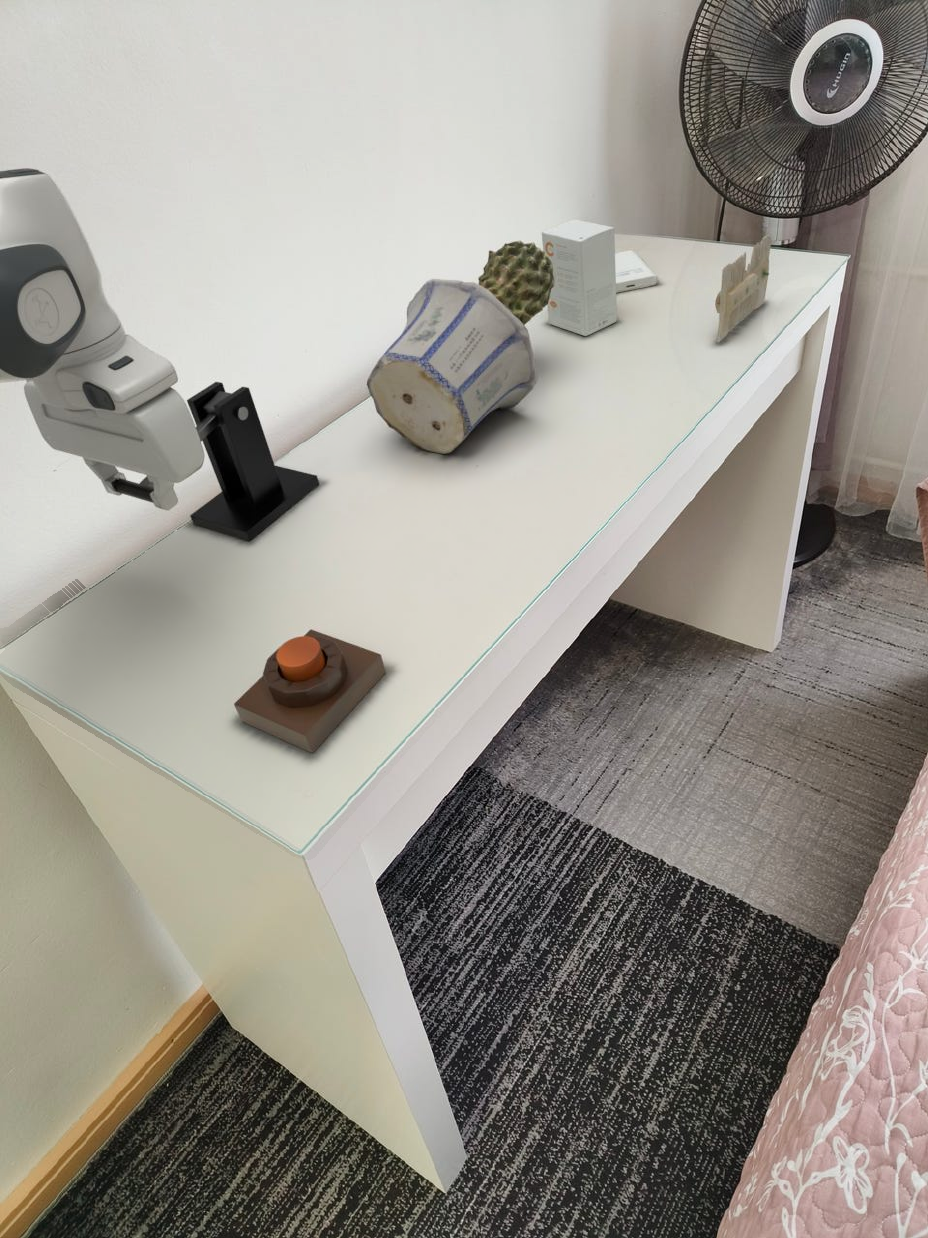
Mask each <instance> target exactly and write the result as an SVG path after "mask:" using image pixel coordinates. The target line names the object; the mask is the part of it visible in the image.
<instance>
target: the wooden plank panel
mask: <svg viewBox="0 0 928 1238" xmlns="http://www.w3.org/2000/svg"><path fill="white" fill-rule="evenodd" d="M771 246H772V234H771V233H768V234H766V235H765V236H763V237H762V238H761V240H760V242H759V241H757V243H756V244H755V245H754V246H753V247H752V248H753V249H752V253H751V258H750V262H749V263H748V264H747V252H746V251H745V252H744V253H743V254H741V255H740V256H739V257H737V259H735V261H732V262H728V263H727V264H726V265H725V266H724V267H723V268H722V271H721V272H722V273H721V287H720V291H719V292H718V293H717V294H716V298H715V301H714V302H715V303H714V305H715V311H716V313H717V314H718V315H719V318H718V319H719V320H718V330H717V343H720V342H721V341H722V340H723V339H725V337H726V336H727V335H728V333H729V332H731V330H733V329H734V328H735V327H736V326H737V325H738V324H740V323H741V322H742V321H743V320H745V319H746V317H748V316H749V315H750V314H751V313H752V312H754V310H758V309H759V307H761V306H763V305H764V303H765V299H766V292H767V287H768V280H769V275H770V272H769V271H770V254H771V253H770V252H771ZM746 267H747V268H746Z"/></svg>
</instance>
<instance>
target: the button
mask: <svg viewBox="0 0 928 1238" xmlns="http://www.w3.org/2000/svg"><path fill="white" fill-rule="evenodd" d="M279 647H280V646H279ZM279 647H278V648H279ZM278 648H277V649H278ZM276 657H277V661H278V663H279V666H280V668H281V671H282V673H283V675H284V677H285V678H286V679H288V680H290V681H295V682H300V681H306V680H308V679H310V678H312V677H315V676H316V675H318V674H319V673H320V672H321V671H322V669H323V667H324V665H325V659H324V656H323V653H322V650H321V647H320V644H319V642H318V641H317V640H316V639H314V638H312V637H308V636H304V635H303V636H296V637H293V638H291V639H288V640H286V641H285V642H284V643H282V645H281V647H280V648H279V649H278V651H277V655H276Z"/></svg>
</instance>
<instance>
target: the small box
mask: <svg viewBox="0 0 928 1238" xmlns="http://www.w3.org/2000/svg"><path fill="white" fill-rule="evenodd" d="M541 239H542V240H541V241H542V251H543V252H545V253H546V254H547V256H548V258H549V259H550V261H551V262H552V264H553V277H554V280H555V283H554V287H553V288H552V289H551V293H550V298H549V302H548V304H547V305H546V306H547V319H548V325H551V326H555V327H557V328H560V329H564V330H566V331H569V332H572V333H574V334H578V335H581V336H583V337H587V336H590V335H592V334H594V333H596V332H598V331H600V330H602V329H605V328H606V327H608V326H610V325H612V324H615V323H616V322H617V321H618V313H617V312H618V309H617V308H618V307H617V305H618V304H617V293H616V272H615V253H616V245H615V244H616V243H615V242H616V241H615V226H614V227H613V226H609V225H604V224H599V223H594V222H590V221H585V220H581V219H577V218H574V219H571V220H569V221H566V222H563V223H561V224H558V225H556V226H552V227H550V228H548V229H545V230H542V231H541Z"/></svg>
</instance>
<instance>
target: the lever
mask: <svg viewBox="0 0 928 1238" xmlns="http://www.w3.org/2000/svg"><path fill="white" fill-rule="evenodd" d="M232 393H233V392H227V391H225V392H222V391H219V392H218V393H217V394H216V395H215V396H214V397H213V398H212V399H211V400H210V401H209V402H208V403H207V404H206V405H205V406H204V407H203V408H204V410H205V411H206V413H207V415H208V416H207V417H206V418H205V419H204V420H203V421H202V422H201V423H200V424H199V425H198V426H195V427H196V429H197V432H198V435H199V438H200V441H201V442H203V441H202V440H203V439H204V438H205V437H206V436H207V435H208V434H209V433H210V432H211V431H212V430H213V429H214V428H215V427H216V426H221V425H220V423H219V420H218V417H217V415H216V412H215V409H214V405H215V404H217V403H218V402H220V401H221V400H223V399H224V398H226V397H227V396H229V395H230V394H232ZM116 489H117V491H118V492H119V493H122V494H121V495H125V496H128V497H131V498H136V499H138V500H141V501H145V502H149V503H152V504H154V502H153V500H152V499H151V496H150V493H151V492H153V491H154V483H153V482H150V481H149V480H148V477H147V475H146V476H145V477H144V478H143V479H142V480H141V481H140V482H135V481H132V480H128V479H126V480H125V479H121V480H119V481H118V482H117V484H116Z"/></svg>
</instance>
